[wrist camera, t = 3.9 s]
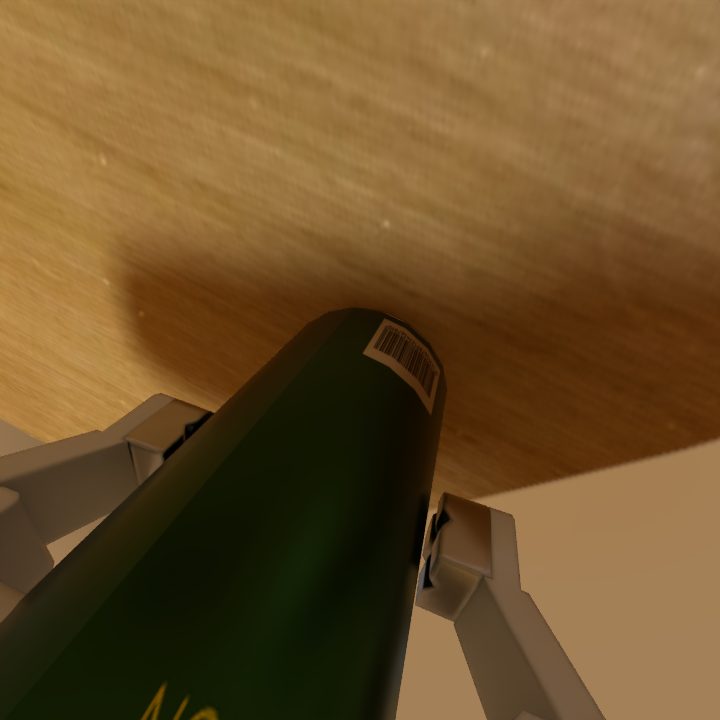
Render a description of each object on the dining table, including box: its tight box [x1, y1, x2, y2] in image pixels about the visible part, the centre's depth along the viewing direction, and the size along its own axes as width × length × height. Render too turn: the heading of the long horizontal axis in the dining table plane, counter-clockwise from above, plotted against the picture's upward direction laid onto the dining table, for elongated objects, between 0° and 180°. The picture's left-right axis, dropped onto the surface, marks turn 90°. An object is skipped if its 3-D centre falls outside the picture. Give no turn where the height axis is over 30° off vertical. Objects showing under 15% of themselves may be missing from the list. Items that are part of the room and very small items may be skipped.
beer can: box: [0, 308, 447, 720], centre depth 8 cm, size 5×5×12 cm
